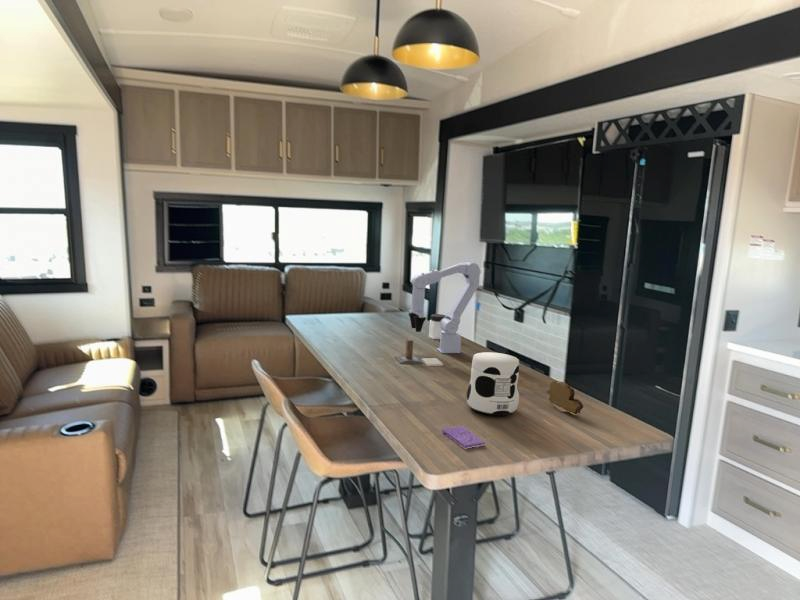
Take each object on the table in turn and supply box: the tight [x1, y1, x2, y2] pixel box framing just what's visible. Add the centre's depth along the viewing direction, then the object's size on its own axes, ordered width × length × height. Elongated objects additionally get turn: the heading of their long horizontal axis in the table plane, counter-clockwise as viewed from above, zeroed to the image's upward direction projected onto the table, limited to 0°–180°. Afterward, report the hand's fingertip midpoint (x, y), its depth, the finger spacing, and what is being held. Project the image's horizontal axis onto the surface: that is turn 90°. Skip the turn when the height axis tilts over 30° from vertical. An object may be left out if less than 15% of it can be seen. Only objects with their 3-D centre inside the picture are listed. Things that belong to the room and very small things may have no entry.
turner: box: [400, 339, 419, 362], centre depth 233 cm, size 7×6×9 cm
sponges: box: [441, 425, 486, 448], centre depth 155 cm, size 7×13×2 cm, turn 26°
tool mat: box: [394, 355, 424, 365], centre depth 235 cm, size 10×10×1 cm
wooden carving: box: [545, 380, 584, 415], centre depth 182 cm, size 16×5×10 cm, turn 28°
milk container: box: [466, 351, 520, 416], centre depth 178 cm, size 17×17×18 cm
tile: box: [420, 357, 444, 367], centre depth 233 cm, size 7×1×9 cm
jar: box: [428, 313, 447, 340], centre depth 282 cm, size 9×8×12 cm
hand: (416, 329), depth 249 cm, fingers open, 7 cm apart
